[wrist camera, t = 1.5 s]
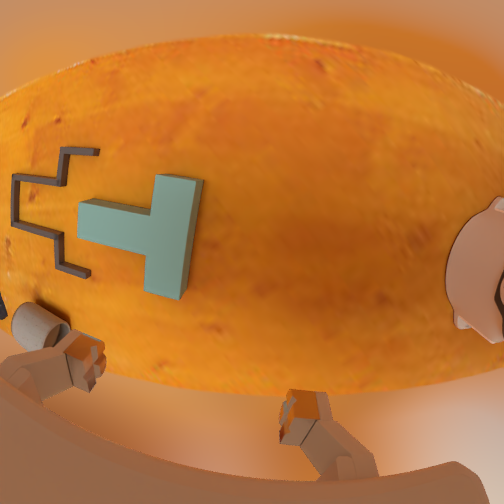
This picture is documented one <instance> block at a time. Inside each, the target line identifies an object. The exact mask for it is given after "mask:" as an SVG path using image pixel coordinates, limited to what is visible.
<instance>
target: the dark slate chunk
mask: <svg viewBox="0 0 504 504" xmlns="http://www.w3.org/2000/svg"><path fill="white" fill-rule="evenodd" d="M7 316H8V315H7V311H6V308H5V305H4V302H3V300H2V297H1V293H0V320H3V319H5V317H7Z"/></svg>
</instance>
